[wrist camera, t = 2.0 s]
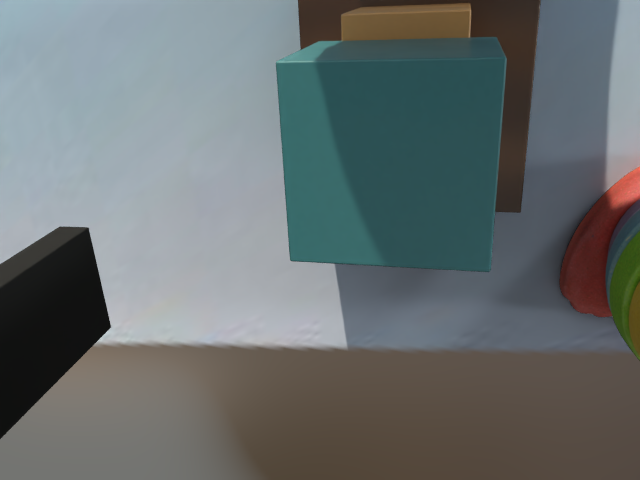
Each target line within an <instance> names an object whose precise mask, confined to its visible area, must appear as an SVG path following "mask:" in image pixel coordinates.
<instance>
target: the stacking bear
mask: <svg viewBox="0 0 640 480" xmlns="http://www.w3.org/2000/svg"><path fill="white" fill-rule="evenodd" d="M560 289H561V292H562V294H563V296H564V297H566V298H567V299H568V300H570V303H571V305H572V306H573V308H574V309H575V310H577V311H578V312H580V313H585V314H593V315H595V316H597V317H609V316H613V319H614V322H615V324H616V326H617V329H618V331H619V332H620V334H621V336H622V338H623V339H624V340H625V342H626V343H627V345H628V346H629V348H630V349H631V350H632V352H633V353H634V354H635V356H636V357H637V358H638V359H639V360H640V167H638V168H636V169H635V170H633V171H631V172H630V173H629V174H627V175H626V176H624V177H623V178H622V179H621V180H619V181H618V182H617V183H616V184H615V185H613V186H612V187H611V188H610V189H609V190H608V191H607V192H606V193H605V194H604V195H603V196H602V197H601V198H600V199H599V200H598V201H597V202H596V203H595V204H594V206H593V207H592V208H591V209H590V211H589V212H588V213H587V214H586V216H585V217H584V219H583V220H582V222H581V223H580V224H579V226H578V228H577V229H576V231H575V233H574V235H573V237H572V239H571V241H570V243H569V245H568V248H567V250H566V253H565V256H564V260H563V263H562V268H561V273H560Z"/></svg>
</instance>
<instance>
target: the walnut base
mask: <svg viewBox="0 0 640 480" xmlns="http://www.w3.org/2000/svg"><path fill="white" fill-rule="evenodd" d="M457 3H470V5H471V29H470V37H497V39H498V41H499V43H500V45H501V47H502V50H503V52H504V54H505V56H506V58H507V63H506V76H505V89H504V103H503V116H502V129H501V142H500V155H499V168H498V181H497V194H496V207H495V212H517V213H520V212H521V203H522V192H523V182H524V171H525V161H526V150H527V140H528V129H529V119H530V108H531V98H532V87H533V77H534V66H535V56H536V45H537V34H538V24H539V13H540V3H541V0H298V8H299V26H300V45H301V50H302V49H304V48H306V47H308V46H310V45H312V44H314V43H316V42H318V41H342V31H341V15H342V14H344V13H347V12H349V11H352V10H355V9H358V8H361V7H377V6H404V5H431V4H457Z"/></svg>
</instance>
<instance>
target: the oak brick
mask: <svg viewBox="0 0 640 480" xmlns="http://www.w3.org/2000/svg"><path fill="white" fill-rule="evenodd" d="M470 29H471V5H470V3H457V4H431V5H404V6H377V7H361V8H358V9H355V10H352V11H349V12H347V13H344V14H342V15H341V31H342V41H352V40H392V39H431V38H470Z"/></svg>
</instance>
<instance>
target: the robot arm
mask: <svg viewBox="0 0 640 480" xmlns="http://www.w3.org/2000/svg"><path fill="white" fill-rule="evenodd" d="M110 328H111V325H110V321H109V316H108V312H107V307H106V303H105V299H104V294H103V290H102V286H101V281H100V277H99V272H98V268H97V264H96V259H95V255H94V250H93V246H92V242H91V237H90V233H89V228H86V227H59V228H57V229H55V230H54V231H52V232H51V233H49V234H47V235H46V236H44V237H43V238H41V239H40V240H38V241H36V242H35V243H33V244H32V245H30V246H29V247H27V248H25V249H24V250H22V251H21V252H19V253H18V254H16V255H14V256H13V257H11V258H10V259H8V260H6V261H5V262H3V263H2V264H0V439H1V438H2V437H3V435H5V434H6V432H7V431H8V430H10V429H11V428H12V426H13V425H15V424H16V423H17V422H18V421H19V419H20V418H21V417H22V416H23V415H24V414H25V413H26V412H27V411H28V410H29V409H30V408H31V407H32V406H33V405H34V404H35V403H36V402H37V401H38V400H39V399H40V398H41V397H42V396H43V395H44V394H45V393H46V392H47V391H48V390H49V389H50V388H51V387H52V386H53V385H54V384H55V383H56V382H57V381H58V380H59V379H60V378H61V377H62V376H63V375H64V374H65V373H66V372H67V371H68V370H69V369H70V368H71V367H72V366H73V365H74V364H75V363H76V362H77V361H78V360H79V359H80V358H81V357H82V356H83V355H84V354H85V353H86V352H87V351H88V350H89V349H90V348H91V347H92V346H93V345H94V344H95V343H96V342H97V341H98V340H99V339H100V338H101V337H102V336H103V335H104V334H105V333H106V332H107V331H108V330H109V329H110Z"/></svg>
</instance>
